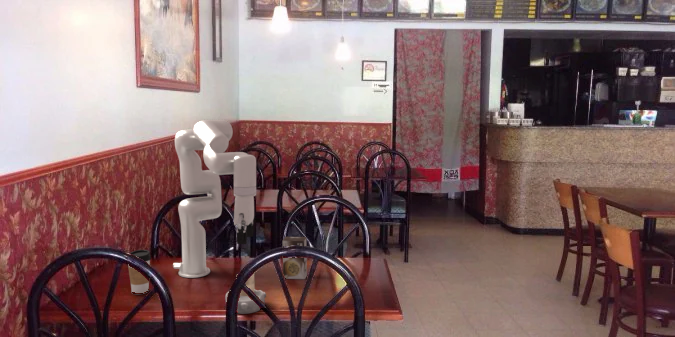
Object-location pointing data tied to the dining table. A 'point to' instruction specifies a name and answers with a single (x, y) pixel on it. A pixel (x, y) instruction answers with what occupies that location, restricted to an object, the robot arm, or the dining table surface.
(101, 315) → the dining table surface
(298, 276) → the coffee box
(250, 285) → the maple block
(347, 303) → the dining table surface
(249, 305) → the dish
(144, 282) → the coffee cup
